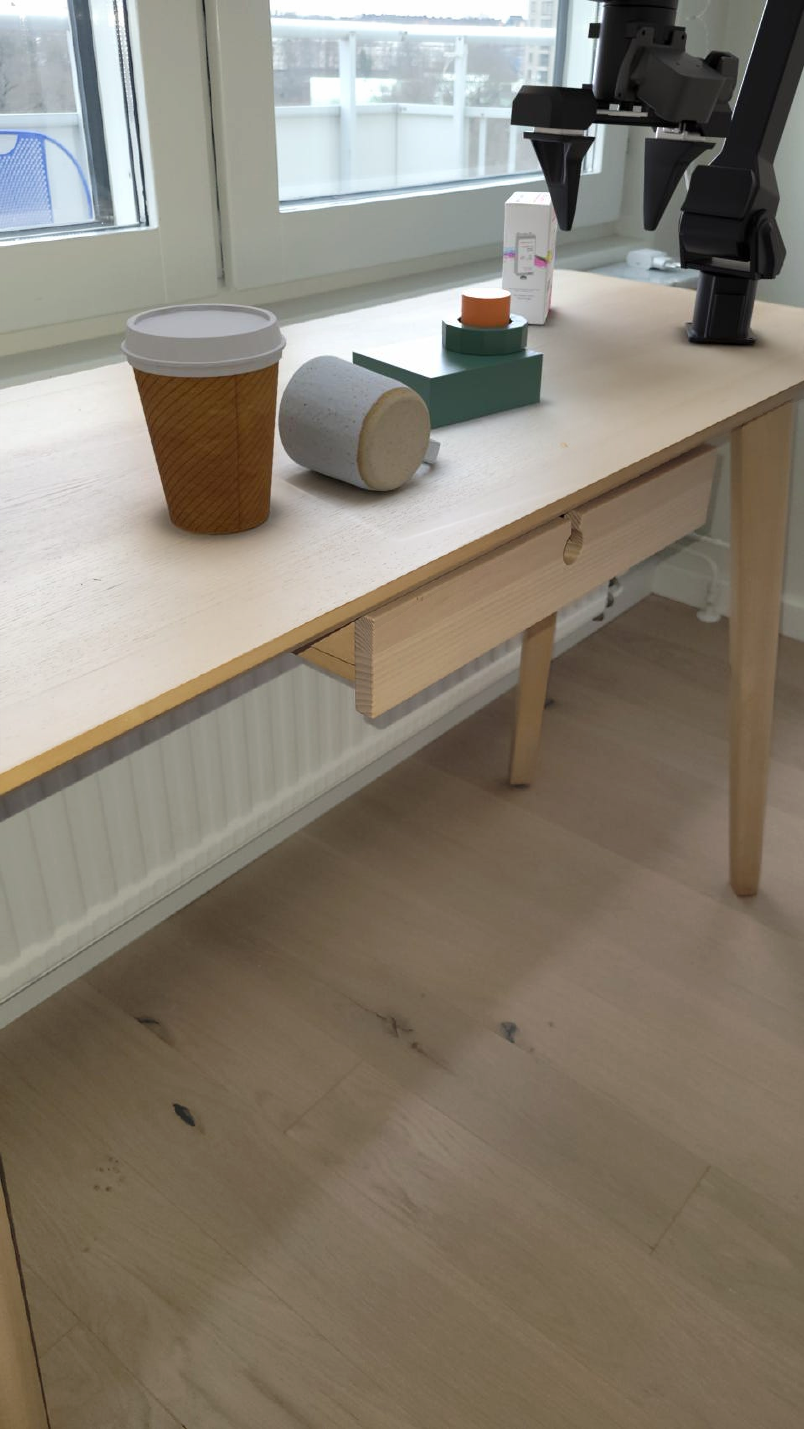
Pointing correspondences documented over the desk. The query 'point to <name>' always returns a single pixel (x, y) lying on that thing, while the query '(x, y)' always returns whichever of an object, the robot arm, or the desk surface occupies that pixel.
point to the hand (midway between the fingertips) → (608, 230)
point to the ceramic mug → (355, 424)
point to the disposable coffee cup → (209, 408)
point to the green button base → (463, 369)
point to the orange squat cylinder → (485, 307)
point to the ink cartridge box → (529, 254)
